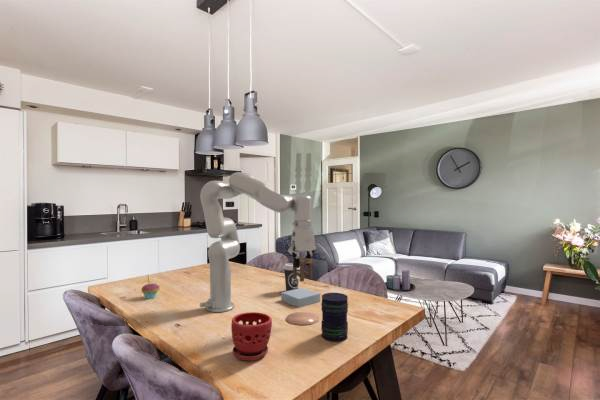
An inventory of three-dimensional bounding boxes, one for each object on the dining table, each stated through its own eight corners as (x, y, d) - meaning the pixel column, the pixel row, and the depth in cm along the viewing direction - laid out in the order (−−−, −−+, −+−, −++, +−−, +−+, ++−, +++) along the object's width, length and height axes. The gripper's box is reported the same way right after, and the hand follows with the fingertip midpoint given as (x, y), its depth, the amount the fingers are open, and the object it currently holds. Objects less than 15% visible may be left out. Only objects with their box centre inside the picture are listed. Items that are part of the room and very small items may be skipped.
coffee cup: (301, 289, 181) (301, 263, 181) (299, 294, 171) (299, 266, 171) (284, 288, 182) (284, 262, 182) (282, 293, 172) (282, 266, 172)
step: (298, 307, 150) (298, 299, 150) (281, 300, 161) (281, 292, 161) (320, 301, 159) (320, 293, 159) (302, 295, 170) (302, 287, 170)
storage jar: (353, 336, 118) (353, 296, 118) (337, 344, 111) (338, 302, 111) (331, 328, 125) (331, 291, 125) (315, 336, 118) (316, 296, 118)
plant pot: (259, 367, 96) (259, 328, 96) (223, 359, 101) (223, 321, 101) (278, 348, 108) (278, 313, 108) (244, 342, 113) (245, 308, 113)
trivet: (300, 328, 126) (300, 327, 126) (279, 317, 136) (279, 317, 136) (325, 319, 135) (325, 318, 135) (304, 310, 145) (304, 309, 145)
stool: (301, 281, 131) (301, 260, 131) (292, 278, 136) (292, 258, 136) (312, 279, 135) (312, 259, 135) (303, 276, 140) (303, 257, 140)
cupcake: (137, 298, 163) (137, 275, 163) (152, 294, 170) (152, 272, 170) (148, 301, 159) (148, 277, 159) (163, 296, 166) (163, 273, 166)
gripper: (292, 225, 127) (292, 270, 127) (323, 224, 138) (323, 265, 138) (281, 224, 133) (281, 267, 133) (311, 223, 144) (311, 262, 144)
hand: (302, 265), depth 136 cm, fingers closed on stool, 6 cm apart
